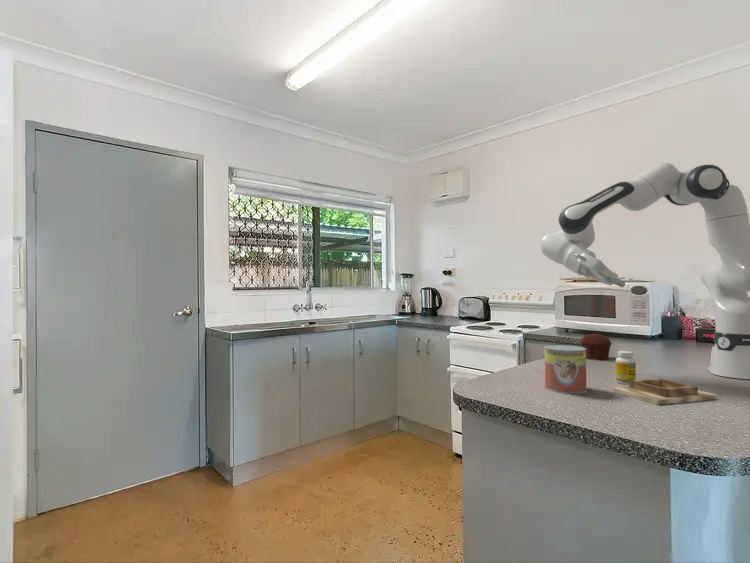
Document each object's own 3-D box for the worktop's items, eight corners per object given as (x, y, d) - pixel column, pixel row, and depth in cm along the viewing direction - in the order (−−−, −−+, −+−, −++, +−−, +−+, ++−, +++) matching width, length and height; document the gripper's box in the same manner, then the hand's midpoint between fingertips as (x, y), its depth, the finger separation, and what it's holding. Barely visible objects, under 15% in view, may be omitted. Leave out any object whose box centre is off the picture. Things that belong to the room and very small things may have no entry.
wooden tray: (667, 387, 126) (667, 376, 126) (716, 399, 112) (716, 387, 112) (612, 391, 120) (612, 380, 120) (657, 405, 107) (656, 392, 107)
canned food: (545, 391, 121) (544, 349, 121) (544, 383, 132) (543, 344, 132) (589, 394, 117) (588, 351, 117) (584, 385, 128) (583, 346, 128)
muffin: (617, 359, 174) (617, 334, 174) (603, 361, 168) (602, 336, 168) (588, 355, 184) (588, 332, 184) (574, 357, 178) (574, 333, 178)
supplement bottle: (621, 380, 135) (620, 350, 135) (639, 383, 131) (638, 352, 131) (612, 382, 132) (612, 351, 132) (630, 385, 128) (630, 353, 128)
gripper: (578, 244, 137) (618, 263, 128) (596, 262, 152) (633, 281, 142) (566, 260, 139) (605, 281, 129) (585, 277, 153) (621, 297, 143)
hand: (620, 281), depth 136 cm, fingers open, 8 cm apart
